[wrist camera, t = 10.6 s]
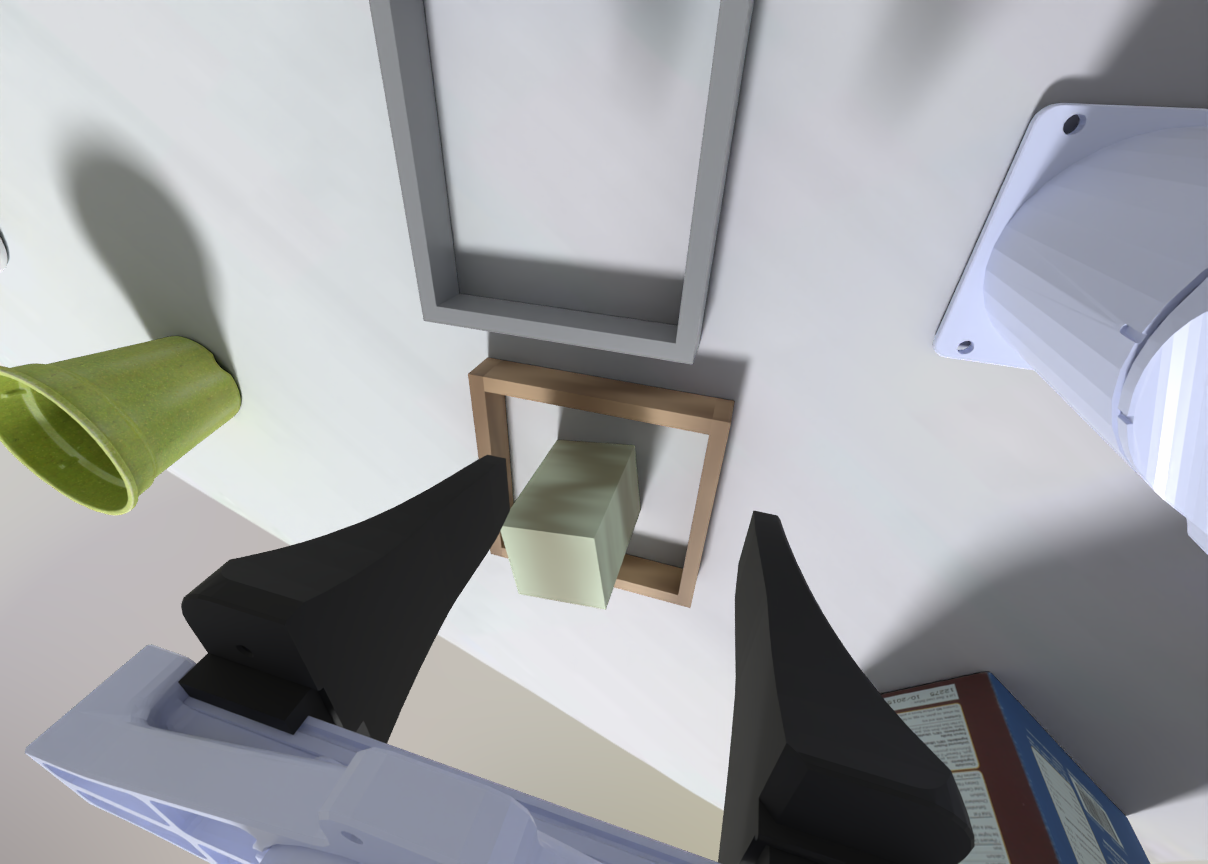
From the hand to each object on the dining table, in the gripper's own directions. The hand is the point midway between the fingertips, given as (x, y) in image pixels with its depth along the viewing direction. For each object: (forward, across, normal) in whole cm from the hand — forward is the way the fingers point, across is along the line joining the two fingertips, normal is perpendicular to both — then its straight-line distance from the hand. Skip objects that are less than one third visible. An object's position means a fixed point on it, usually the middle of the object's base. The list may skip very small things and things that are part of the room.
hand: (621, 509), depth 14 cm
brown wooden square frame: (+10, +3, +8) cm, 13 cm away
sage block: (+11, +3, +8) cm, 13 cm away
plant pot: (+11, +31, +7) cm, 34 cm away
